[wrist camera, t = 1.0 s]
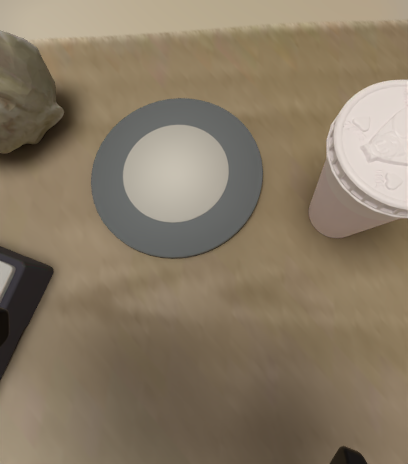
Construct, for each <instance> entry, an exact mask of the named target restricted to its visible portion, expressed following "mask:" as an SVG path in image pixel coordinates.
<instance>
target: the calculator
mask: <svg viewBox="0 0 408 464" xmlns="http://www.w3.org/2000/svg"><path fill="white" fill-rule="evenodd" d="M52 275H53V268H52V267H51V266H48V265H46V264H43V263H41V262H38V261H36V260H33V259H31V258H28V257H26V256H23V255H21V254H18V253H16V252H13V251H11V250H8V249H6V248H3V247H1V246H0V307H1V308H4V309H6V310H7V311H8V312H9V336H8V338H7V340H6V341H5V343H4V344H3V345H2V346H1V347H0V379H1V377H2V375H3V373H4V371H5V369H6V366H7V364H8V362H9V360H10V358H11V355H12V353H13V351H14V349H15V347H16V345H17V342H18V340H19V338H20V336H21V334H22V332H23V330H24V329H25V328H26V326H27V325H28V324H29V322H30V320H31V318H32V316H33V314H34V312H35V310H36V308H37V306H38V304H39V302H40V300H41V298H42V296H43V293H44V291H45V289H46V287H47V285H48V283H49V281H50V279H51V277H52Z"/></svg>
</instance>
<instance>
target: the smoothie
mask: <svg viewBox="0 0 408 464" xmlns="http://www.w3.org/2000/svg"><path fill="white" fill-rule="evenodd" d="M309 218H310V221H311V223H312V225H313V226H314V227H315V229H316V230H317V231H319V232H320V233H321V234H323V235H325V236H328V237H331V238H343V237H347V236H350V235H353V234H356V233H359V232H362V231H365V230H368V229H371V228H374V227H377V226H380V225H382V224H385V223H388V222H391V221H394V220H397V219H401V218H408V80H391V81H385V82H381V83H377V84H374V85H371V86H369V87H367V88H365V89H363V90H361V91H360V92H358V93H357V94H355V95H354V96H353V97H352V98H351V99H350V100H349V101H348V102H347V103H346V104H345V105H344V107H343V108H342V110H341V111H340V113H339V114H338V116H337V117H336V118H335V120H334V121H333V123H332V124H331V127H330V130H329V134H328V137H327V158H326V161H325V164H324V166H323V169H322V172H321V175H320V178H319V180H318V183H317V186H316V189H315V192H314V194H313V197H312V200H311V203H310V206H309Z"/></svg>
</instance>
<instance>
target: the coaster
mask: <svg viewBox="0 0 408 464" xmlns="http://www.w3.org/2000/svg"><path fill="white" fill-rule="evenodd" d="M262 175H263V169H262V160H261V156H260V152H259V149H258V147H257V144H256V142H255V140H254V138H253V137H252V135H251V133H250V132H249V130H248V129H247V128H246V127H245V125H244V124H243V123H242V122H241V121H240V120H239V119H237V118H236V117H235V116H234V115H232V114H231V113H230V112H228V111H226V110H225V109H223V108H221V107H219V106H217V105H214V104H212V103H209V102H205V101H201V100H195V99H183V98H178V99H168V100H162V101H158V102H155V103H151V104H148V105H146V106H144V107H142V108H139V109H137V110H136V111H134V112H132V113H131V114H129V115H128V116H126V117H125V118H124V119H122V120H121V121H120V122H119V123H118V124H117V125H116V126H115V127H114V128H113V129H112V130H111V131H110V132H109V134H108V135H107V136H106V138H105V139H104V141H103V142H102V144H101V146H100V148H99V150H98V152H97V154H96V157H95V160H94V164H93V169H92V177H91V187H92V195H93V200H94V204H95V206H96V209H97V211H98V214H99V215H100V217H101V219H102V221H103V222H104V224H105V225H106V226H107V227H108V229H109V230H110V231H111V232H112V233H113V234H114V235H115V236H116V237H117V238H118V239H120V240H121V241H123V242H124V243H125V244H127V245H128V246H130V247H132V248H133V249H135V250H137V251H139V252H142V253H145V254H148V255H151V256H156V257H161V258H186V257H192V256H197V255H200V254H203V253H206V252H208V251H211V250H213V249H215V248H217V247H219V246H220V245H222V244H223V243H225V242H227V241H228V240H229V239H230V238H232V237H233V236H234V235H235V234H236V233H237V232H238V231H239V230H240V229H241V228H242V227H243V226H244V225H245V223H246V222H247V220H248V219H249V217H250V216H251V214H252V212H253V210H254V208H255V206H256V204H257V201H258V198H259V195H260V191H261V185H262Z"/></svg>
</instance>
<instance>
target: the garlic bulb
mask: <svg viewBox="0 0 408 464" xmlns="http://www.w3.org/2000/svg"><path fill="white" fill-rule="evenodd" d="M63 114H64V110H63V108H62V107H61V106H59V105H58V104H57V102H56V87H55V82H54V80H53V78H52V76H51V74H50V72H49V70H48V68H47V66H46V65H45V63H44V61H43V59H42V57H41V55H40V53H39V50H38V49H37V47H35V46H34V45H33V44H31V43H30V42H28V41H27V40H25V39H24V38H20V37H18V36H15V35H12V34H10V33H7V32H3V31H0V153H10V152H11V151H13V150H15V149H17V148H19V147H20V146H21V145H23V144H37V143H38V142H40V140H41V139H42V137H43V136H44V134H45V132H46V131H47V130H49V129H50V128H51V127H52V126H54V125H55V124H56V123H57V122H58V121H59V120H60V119H61V118H62V116H63Z"/></svg>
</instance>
